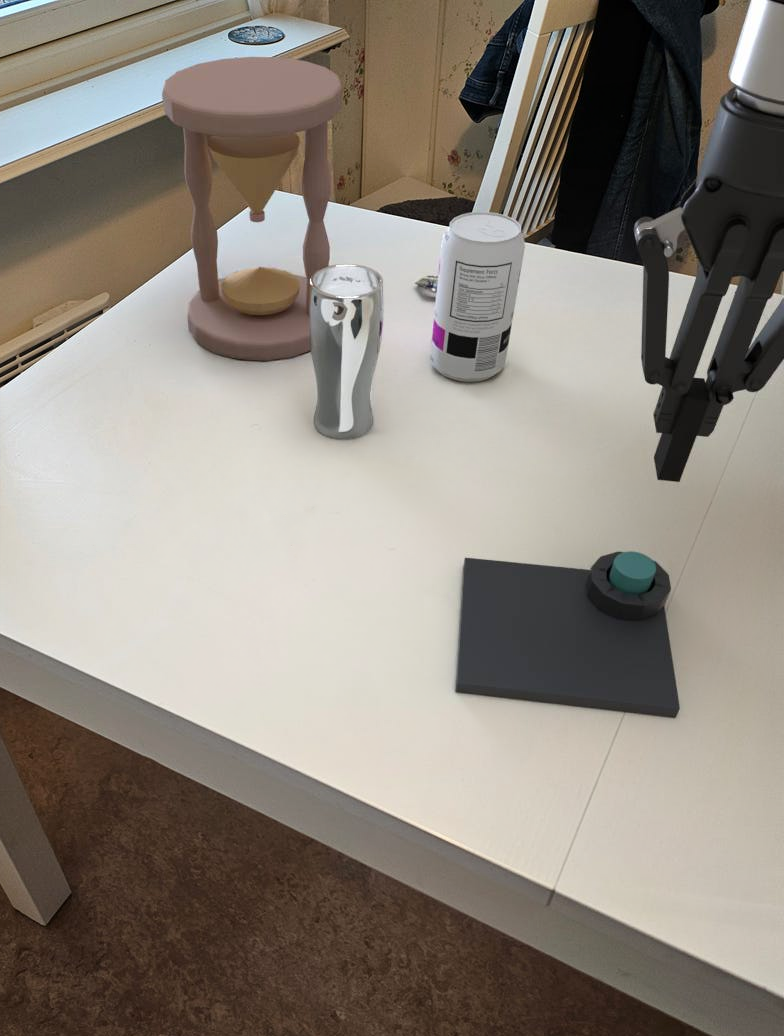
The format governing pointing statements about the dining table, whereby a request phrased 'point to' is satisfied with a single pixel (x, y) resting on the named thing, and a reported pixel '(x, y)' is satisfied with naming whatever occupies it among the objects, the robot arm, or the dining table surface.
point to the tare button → (632, 572)
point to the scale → (565, 637)
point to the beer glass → (345, 346)
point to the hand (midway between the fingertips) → (666, 469)
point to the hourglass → (254, 191)
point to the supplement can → (476, 295)
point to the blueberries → (428, 285)
